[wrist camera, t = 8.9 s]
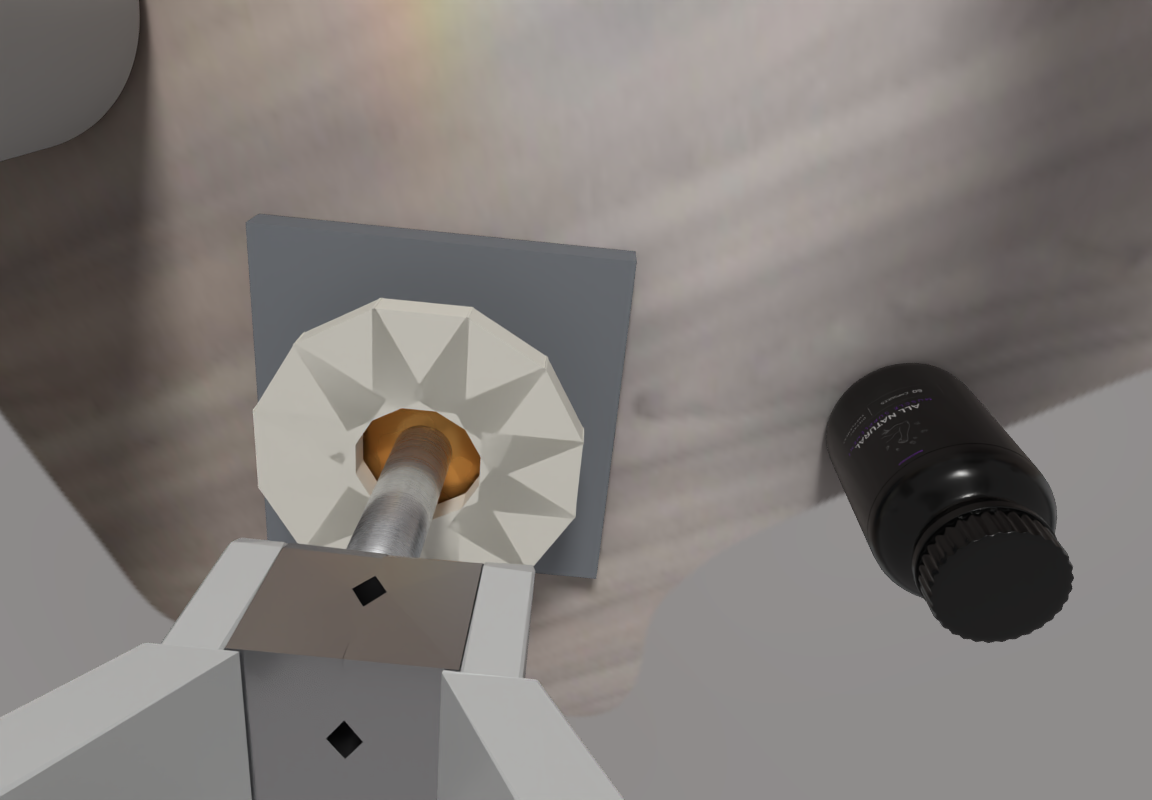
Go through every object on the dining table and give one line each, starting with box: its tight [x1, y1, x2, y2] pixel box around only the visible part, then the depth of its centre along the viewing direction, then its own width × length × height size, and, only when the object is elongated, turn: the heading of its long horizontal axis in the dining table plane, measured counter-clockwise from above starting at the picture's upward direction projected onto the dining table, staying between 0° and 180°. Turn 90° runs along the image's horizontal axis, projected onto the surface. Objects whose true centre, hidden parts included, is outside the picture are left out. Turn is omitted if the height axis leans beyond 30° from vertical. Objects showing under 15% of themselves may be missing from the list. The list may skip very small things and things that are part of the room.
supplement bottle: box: [826, 363, 1074, 643], centre depth 35 cm, size 7×7×12 cm
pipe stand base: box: [246, 214, 637, 579], centre depth 40 cm, size 16×16×2 cm
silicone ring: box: [253, 298, 584, 566], centre depth 35 cm, size 13×13×1 cm
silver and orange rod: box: [346, 408, 481, 558], centre depth 33 cm, size 6×6×14 cm
